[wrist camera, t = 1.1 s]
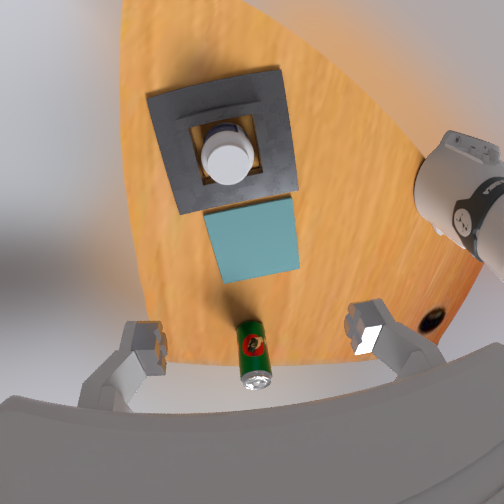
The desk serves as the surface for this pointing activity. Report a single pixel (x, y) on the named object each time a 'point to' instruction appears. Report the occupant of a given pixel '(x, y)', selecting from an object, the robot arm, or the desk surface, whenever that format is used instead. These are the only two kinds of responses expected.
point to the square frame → (215, 109)
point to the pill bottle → (227, 153)
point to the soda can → (253, 356)
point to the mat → (254, 239)
